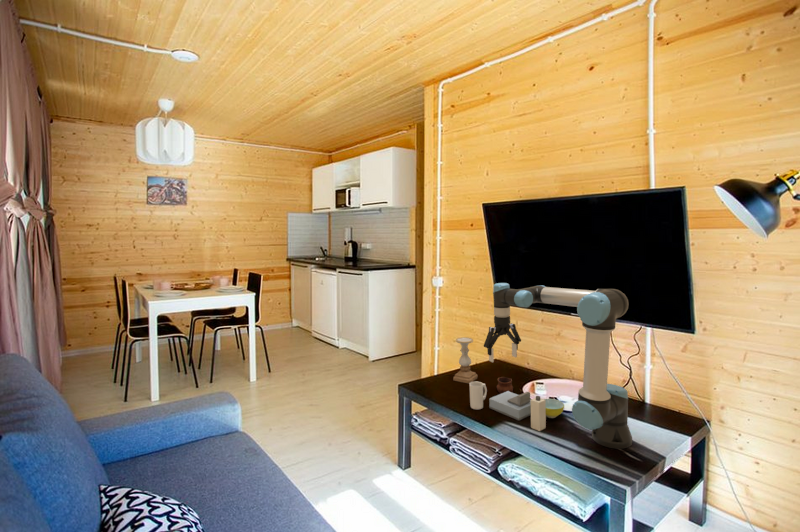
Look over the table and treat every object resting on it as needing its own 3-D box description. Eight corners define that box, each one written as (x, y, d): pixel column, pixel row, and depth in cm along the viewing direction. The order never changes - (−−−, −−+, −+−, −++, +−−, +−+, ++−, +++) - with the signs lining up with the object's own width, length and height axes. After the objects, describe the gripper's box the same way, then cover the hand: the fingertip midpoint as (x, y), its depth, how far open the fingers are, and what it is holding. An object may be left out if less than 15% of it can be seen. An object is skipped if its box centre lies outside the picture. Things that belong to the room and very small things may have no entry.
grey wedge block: (530, 402, 211) (530, 392, 210) (520, 406, 206) (519, 396, 206) (517, 397, 217) (517, 387, 216) (507, 401, 212) (507, 392, 212)
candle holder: (452, 380, 257) (451, 340, 254) (461, 374, 266) (460, 336, 263) (469, 383, 250) (468, 343, 248) (478, 377, 259) (477, 338, 257)
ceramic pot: (519, 385, 245) (519, 373, 244) (524, 398, 228) (523, 385, 227) (487, 385, 248) (486, 373, 247) (488, 398, 231) (488, 386, 230)
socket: (537, 411, 212) (537, 401, 211) (518, 420, 203) (518, 410, 203) (508, 400, 226) (507, 390, 226) (489, 408, 218) (489, 398, 217)
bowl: (558, 424, 199) (558, 411, 198) (534, 417, 206) (534, 404, 206) (568, 415, 207) (568, 402, 206) (544, 408, 215) (544, 396, 214)
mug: (475, 411, 215) (475, 387, 214) (467, 406, 221) (466, 383, 220) (491, 405, 220) (490, 382, 219) (482, 401, 226) (482, 378, 225)
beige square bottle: (545, 428, 195) (545, 396, 194) (539, 431, 193) (539, 399, 191) (537, 424, 199) (536, 393, 197) (530, 427, 196) (530, 396, 195)
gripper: (517, 310, 217) (518, 352, 219) (475, 317, 207) (476, 361, 209) (528, 313, 210) (528, 356, 212) (484, 320, 200) (486, 365, 202)
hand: (503, 359), depth 211 cm, fingers open, 13 cm apart
